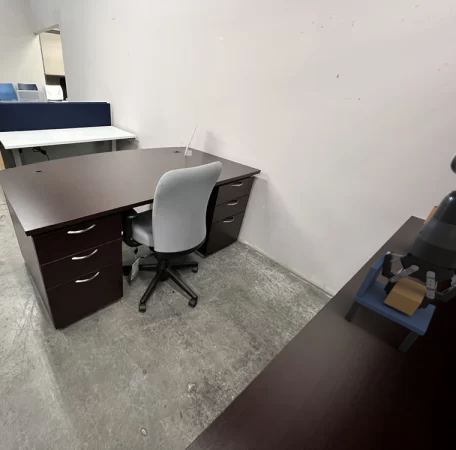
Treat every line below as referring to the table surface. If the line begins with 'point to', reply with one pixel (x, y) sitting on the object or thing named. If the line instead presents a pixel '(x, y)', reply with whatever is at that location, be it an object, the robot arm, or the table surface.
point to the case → (406, 296)
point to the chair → (374, 299)
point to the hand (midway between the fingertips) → (402, 299)
